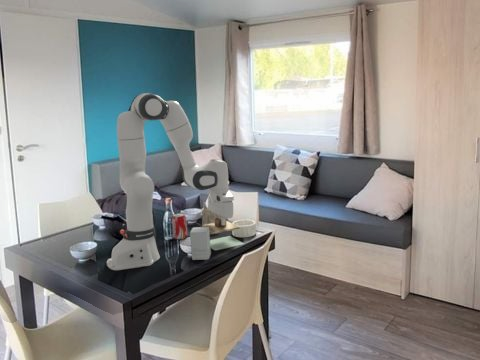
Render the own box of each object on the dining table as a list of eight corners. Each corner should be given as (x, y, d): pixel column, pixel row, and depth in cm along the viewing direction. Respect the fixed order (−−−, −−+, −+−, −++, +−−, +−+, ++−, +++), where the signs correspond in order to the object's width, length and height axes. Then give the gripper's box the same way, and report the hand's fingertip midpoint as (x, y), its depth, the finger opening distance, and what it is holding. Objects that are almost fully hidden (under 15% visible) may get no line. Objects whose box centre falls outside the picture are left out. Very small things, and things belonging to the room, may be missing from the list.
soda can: (185, 240, 227) (183, 216, 225) (171, 240, 229) (169, 216, 227) (189, 236, 234) (187, 212, 232) (176, 235, 236) (174, 212, 233)
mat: (215, 251, 210) (215, 250, 210) (201, 242, 223) (201, 241, 223) (244, 244, 217) (244, 243, 217) (230, 236, 230) (230, 235, 230)
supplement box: (211, 254, 207) (209, 226, 204) (208, 260, 200) (206, 231, 197) (194, 254, 208) (192, 227, 205) (191, 260, 200) (189, 232, 198)
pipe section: (239, 239, 224) (238, 227, 223) (228, 233, 234) (227, 222, 233) (260, 235, 229) (259, 223, 228) (248, 229, 239) (248, 218, 238)
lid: (213, 233, 210) (213, 224, 209) (202, 226, 221) (201, 217, 220) (239, 228, 216) (239, 219, 215) (227, 222, 227) (226, 213, 226)
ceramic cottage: (203, 236, 233) (203, 206, 230) (198, 228, 248) (197, 200, 246) (234, 234, 236) (234, 204, 234) (227, 226, 252) (226, 199, 250)
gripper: (204, 191, 223) (205, 219, 226) (222, 199, 205) (223, 229, 208) (216, 189, 226) (217, 217, 228) (235, 197, 208) (236, 227, 211)
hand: (220, 223), depth 218 cm, fingers closed on lid, 4 cm apart
